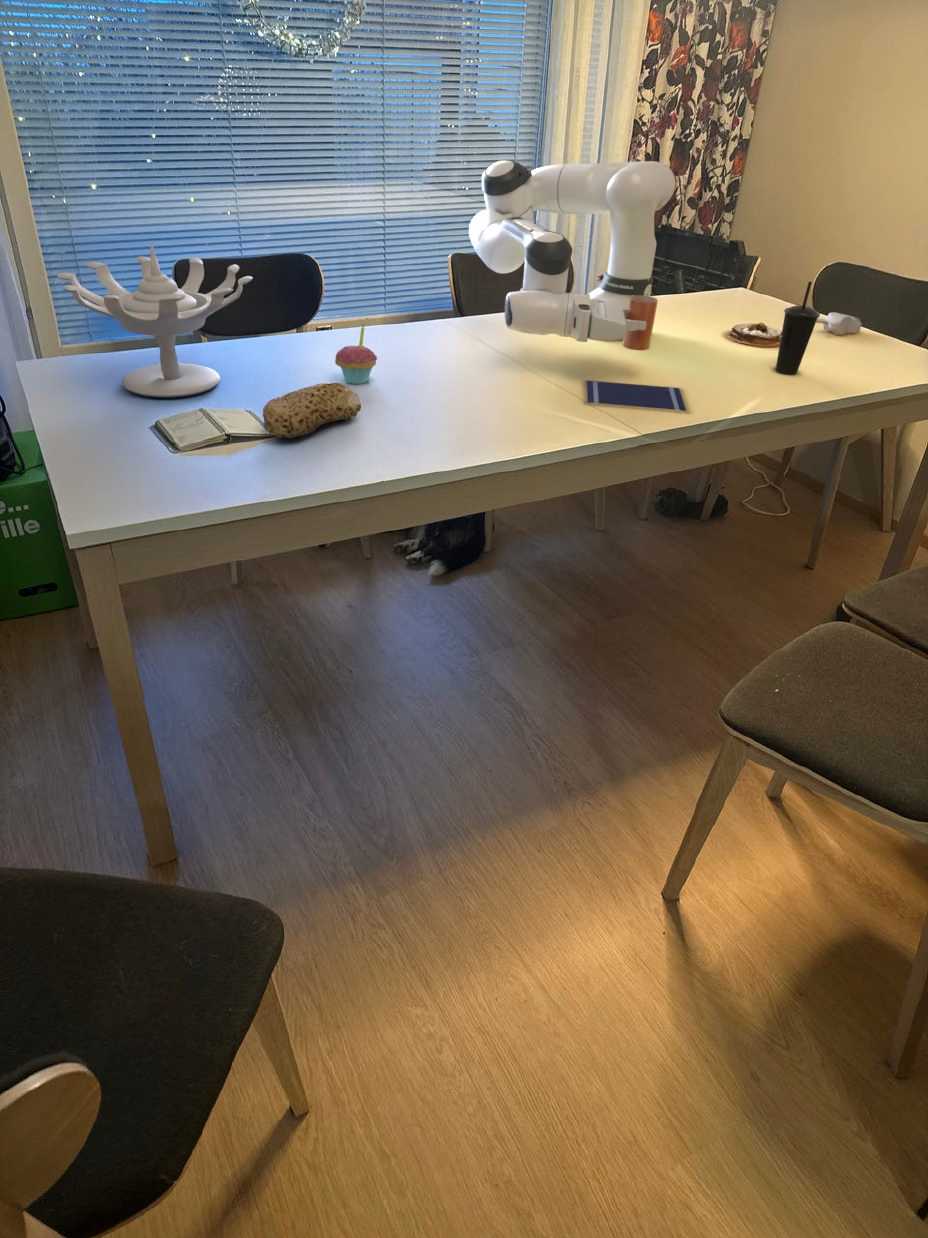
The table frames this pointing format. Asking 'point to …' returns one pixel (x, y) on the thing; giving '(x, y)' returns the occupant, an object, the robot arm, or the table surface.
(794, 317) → the drinking cup
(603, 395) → the cloth
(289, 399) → the sponge
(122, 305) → the candelabra
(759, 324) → the round cake
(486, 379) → the table surface
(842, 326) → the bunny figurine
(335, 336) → the table surface
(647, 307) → the tumbler
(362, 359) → the cupcake
